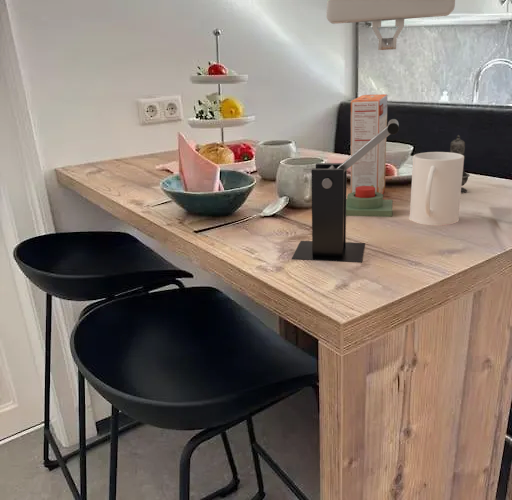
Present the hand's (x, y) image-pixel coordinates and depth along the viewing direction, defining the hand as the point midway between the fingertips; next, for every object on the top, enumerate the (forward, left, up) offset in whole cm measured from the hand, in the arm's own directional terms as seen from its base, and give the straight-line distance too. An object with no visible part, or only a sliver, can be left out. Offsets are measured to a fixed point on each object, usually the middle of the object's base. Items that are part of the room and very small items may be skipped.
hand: (387, 49), depth 84 cm
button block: (+3, 0, -29) cm, 29 cm away
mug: (-9, +6, -29) cm, 31 cm away
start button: (+3, 0, -25) cm, 26 cm away
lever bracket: (+7, +23, -29) cm, 38 cm away
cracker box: (+3, -13, -29) cm, 32 cm away
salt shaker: (-15, -21, -29) cm, 39 cm away
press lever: (+2, +23, -15) cm, 27 cm away
